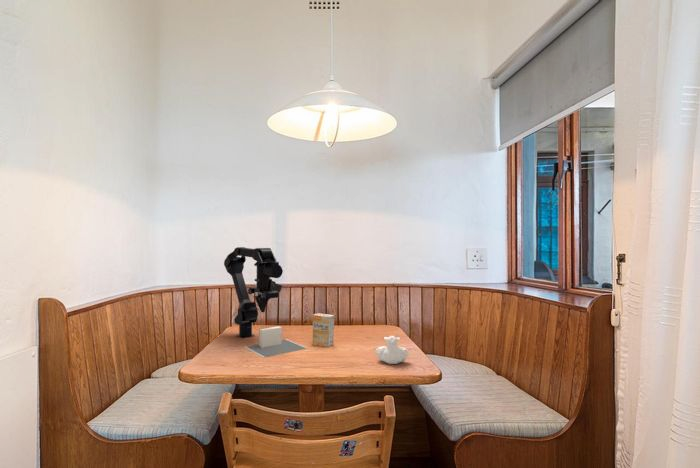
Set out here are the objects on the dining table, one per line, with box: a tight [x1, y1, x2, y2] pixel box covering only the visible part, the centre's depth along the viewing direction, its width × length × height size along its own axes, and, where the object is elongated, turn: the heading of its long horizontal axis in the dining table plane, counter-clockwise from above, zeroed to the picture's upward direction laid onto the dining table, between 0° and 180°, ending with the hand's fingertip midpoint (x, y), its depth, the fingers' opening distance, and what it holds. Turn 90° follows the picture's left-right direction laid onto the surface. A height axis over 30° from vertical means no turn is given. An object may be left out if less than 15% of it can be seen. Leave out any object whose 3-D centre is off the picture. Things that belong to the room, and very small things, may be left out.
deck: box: [258, 325, 283, 348], centre depth 158 cm, size 3×9×7 cm, turn 129°
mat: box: [244, 338, 309, 359], centre depth 154 cm, size 18×20×1 cm
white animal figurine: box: [375, 335, 409, 365], centre depth 136 cm, size 12×8×11 cm
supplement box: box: [311, 312, 335, 348], centre depth 159 cm, size 8×5×13 cm, turn 65°
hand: (262, 312), depth 164 cm, fingers closed
